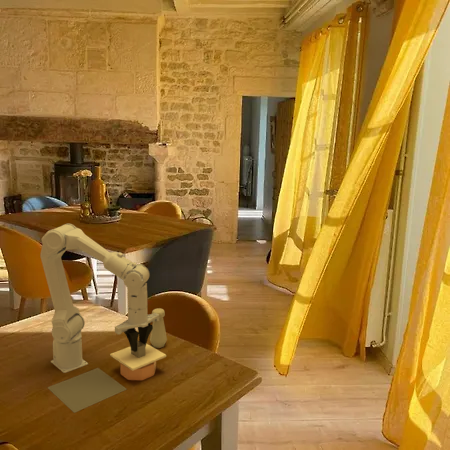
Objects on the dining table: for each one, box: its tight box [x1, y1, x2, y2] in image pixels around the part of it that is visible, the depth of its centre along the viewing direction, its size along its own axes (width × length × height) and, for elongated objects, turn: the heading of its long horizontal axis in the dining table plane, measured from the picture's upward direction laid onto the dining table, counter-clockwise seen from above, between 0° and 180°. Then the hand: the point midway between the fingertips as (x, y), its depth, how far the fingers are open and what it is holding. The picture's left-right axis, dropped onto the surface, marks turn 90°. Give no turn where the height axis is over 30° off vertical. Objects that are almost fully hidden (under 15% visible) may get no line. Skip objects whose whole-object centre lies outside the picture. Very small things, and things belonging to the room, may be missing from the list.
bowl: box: [119, 361, 157, 381], centre depth 138 cm, size 10×10×4 cm
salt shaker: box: [149, 307, 168, 349], centre depth 155 cm, size 6×6×13 cm
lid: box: [109, 339, 167, 371], centre depth 137 cm, size 12×12×4 cm
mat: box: [46, 367, 128, 414], centre depth 129 cm, size 16×16×1 cm
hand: (138, 348), depth 137 cm, fingers closed on lid, 2 cm apart
